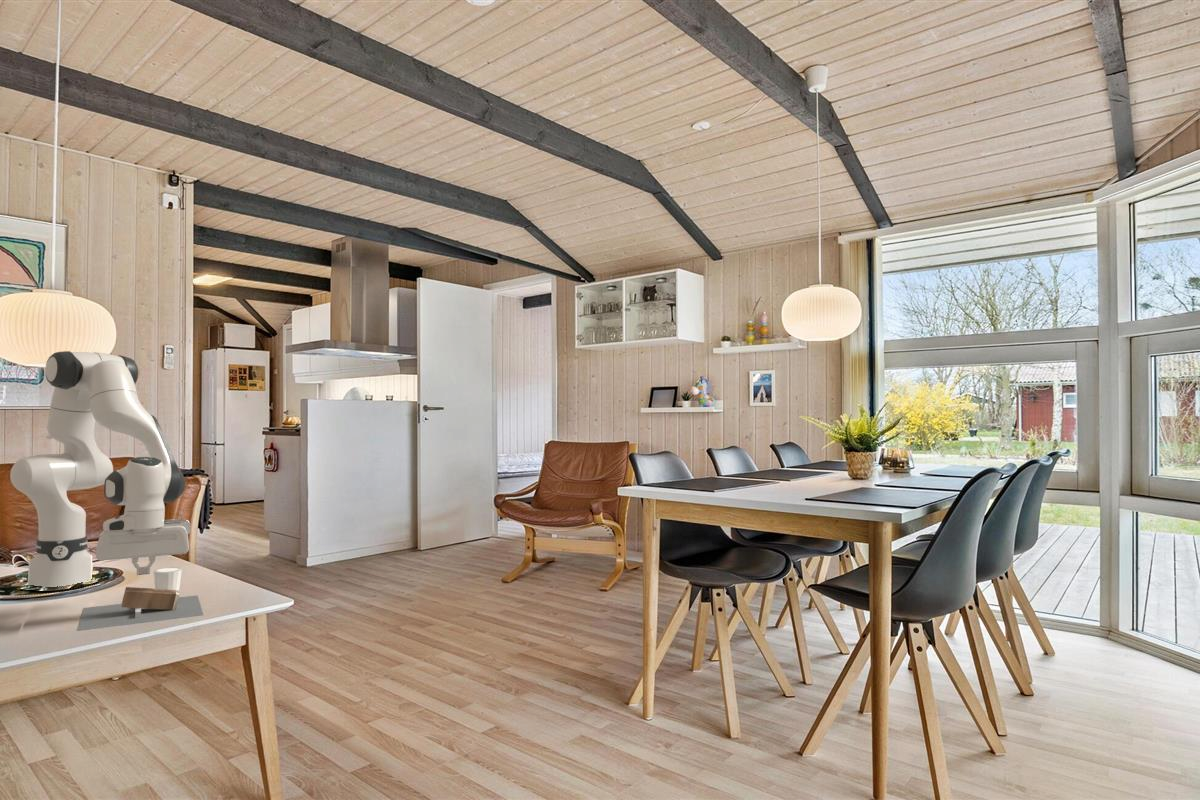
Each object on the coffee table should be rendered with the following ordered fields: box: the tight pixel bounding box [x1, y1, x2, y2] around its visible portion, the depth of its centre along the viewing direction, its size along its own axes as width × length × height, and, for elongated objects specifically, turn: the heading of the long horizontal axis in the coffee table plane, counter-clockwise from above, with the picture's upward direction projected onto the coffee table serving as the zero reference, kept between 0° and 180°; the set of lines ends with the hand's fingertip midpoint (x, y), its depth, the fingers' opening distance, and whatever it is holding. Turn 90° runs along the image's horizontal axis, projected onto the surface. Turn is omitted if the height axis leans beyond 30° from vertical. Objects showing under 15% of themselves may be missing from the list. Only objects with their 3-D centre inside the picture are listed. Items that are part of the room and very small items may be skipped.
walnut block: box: [121, 586, 180, 610], centre depth 184 cm, size 5×4×12 cm
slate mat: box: [76, 594, 204, 632], centre depth 183 cm, size 22×26×2 cm
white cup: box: [153, 566, 183, 591], centre depth 202 cm, size 7×7×7 cm
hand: (143, 574), depth 183 cm, fingers closed
